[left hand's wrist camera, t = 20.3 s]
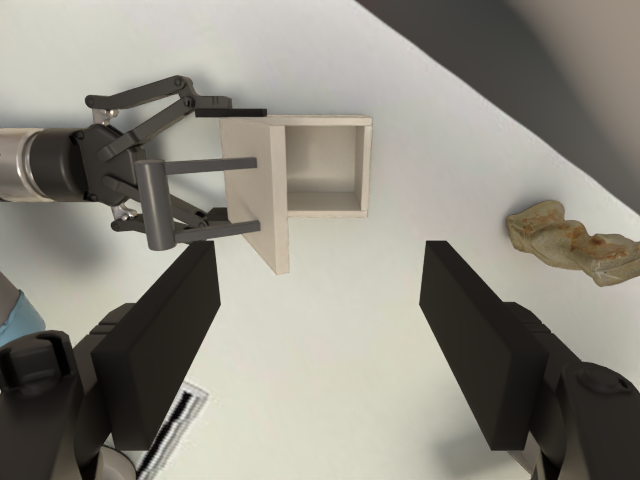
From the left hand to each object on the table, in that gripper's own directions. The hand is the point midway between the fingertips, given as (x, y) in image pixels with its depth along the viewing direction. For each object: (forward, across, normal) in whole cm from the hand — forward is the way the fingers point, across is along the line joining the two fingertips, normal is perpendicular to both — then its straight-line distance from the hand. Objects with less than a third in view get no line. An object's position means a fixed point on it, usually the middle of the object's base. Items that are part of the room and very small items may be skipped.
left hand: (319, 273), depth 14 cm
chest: (+33, +2, 0) cm, 33 cm away
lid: (+17, +5, 0) cm, 18 cm away
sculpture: (+33, -27, +8) cm, 43 cm away
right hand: (+26, +5, 0) cm, 26 cm away
